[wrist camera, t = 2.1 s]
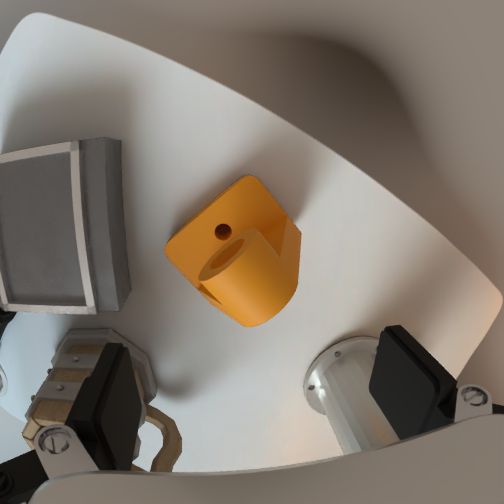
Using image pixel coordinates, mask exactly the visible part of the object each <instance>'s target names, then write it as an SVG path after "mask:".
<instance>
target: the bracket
mask: <svg viewBox="0 0 504 504" xmlns="http://www.w3.org/2000/svg"><path fill="white" fill-rule="evenodd" d="M219 224H227V225H229V226H230V230H229V231H228V232H227V233H225V234H220V233H218V232H216V230H215V228H216V227H217V226H218V225H219ZM300 247H301V232H300V231H299V229H298V228H297V227H296V225H295V224H294V223H293V222H292V220H291V219H290V218H289V216H288V215H287V214H286V213H285V211H284V210H283V209H282V208H281V206H280V205H279V204H278V203H277V201H276V200H275V199H274V198H273V196H272V195H271V194H270V193H269V191H268V190H267V189H266V188H265V186H264V185H263V184H262V183H261V182H260V180H259V179H258V178H256V177H254V176H251V175H245V176H243V177H241V178H240V179H239V180H237V181H236V182H235V183H234V184H233V185H231V186H230V187H229V188H227V189H225V190H224V191H223V192H222V193H221V194H219V195H218V196H217V197H216V198H215V199H213V200H212V201H211V202H210V203H209V204H207V205H206V206H205V207H204V208H203V209H202V210H200V211H199V212H198V213H197V214H196V215H195V216H193V217H192V218H191V219H190V220H189V221H188V222H187V223H185V224H184V225H183V227H182V228H181V229H180V230H179V231H178V232H176V233H175V234H174V235H173V236H172V237H171V238H170V239H169V240H168V242H167V244H166V246H165V254H166V256H167V258H168V259H169V260H170V261H171V262H172V263H173V264H174V265H175V266H176V267H177V268H178V269H179V270H180V272H181V273H182V274H183V275H184V276H185V277H186V278H187V279H188V280H189V281H190V282H191V283H192V284H193V285H194V286H195V287H196V288H197V289H198V290H199V291H200V292H201V293H202V294H203V295H204V297H205V298H206V299H207V300H208V301H209V302H210V303H211V304H212V305H214V306H215V307H217V308H218V309H219V310H221V311H222V312H224V313H225V314H227V315H228V316H230V317H231V318H233V319H234V320H236V321H237V322H238V323H240V324H241V325H243V326H245V327H254V326H257V325H260V324H262V323H264V322H266V321H268V320H269V319H271V318H272V317H274V316H275V315H276V314H277V313H279V312H280V311H281V310H282V309H283V308H284V307H285V306H286V304H287V303H288V302H289V301H290V299H291V298H292V296H293V295H294V293H295V291H296V288H297V285H298V274H299V261H300Z"/></svg>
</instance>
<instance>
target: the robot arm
mask: <svg viewBox="0 0 504 504" xmlns="http://www.w3.org/2000/svg"><path fill="white" fill-rule="evenodd" d="M456 384H457V381H456V380H455V379H454V378H453V376H452V375H451V374H450V373H449V372H448V371H447V370H446V369H445V368H444V367H443V366H442V365H441V364H440V363H439V362H438V361H437V360H436V359H435V358H434V357H433V356H432V355H431V354H430V353H429V352H428V351H427V350H426V349H425V348H424V347H423V346H422V345H421V344H420V343H419V342H418V341H416V340H415V339H414V338H413V337H412V336H411V335H410V334H409V333H408V332H407V331H406V330H405V329H404V328H403V327H402V326H401V325H394V326H387V327H385V329H384V331H382V332H381V334H380V339H377V338H373V337H364V336H361V337H354V338H350V339H347V340H344V341H341V342H339V343H337V344H335V345H333V346H332V347H330V348H329V349H327V350H326V351H325V352H323V353H322V354H321V355H320V356H319V357H318V358H317V359H316V360H315V361H314V362H313V364H312V365H311V367H310V368H309V370H308V372H307V374H306V377H305V380H304V385H303V387H304V395H305V397H306V400H307V402H308V404H309V406H310V407H311V408H312V409H313V410H315V411H317V412H318V413H321V414H323V415H327V417H328V420H329V422H330V424H331V427H332V429H333V431H334V433H335V436H336V438H337V440H338V442H339V445H340V447H341V449H342V451H343V454H344V455H342V456H338V457H333V458H328V459H322V460H317V461H311V462H305V463H299V464H293V465H285V466H278V467H269V468H260V469H250V470H237V471H220V472H144V471H131V466H132V460H133V455H134V449H135V444H136V438H137V433H138V428H139V423H140V418H141V413H142V403H141V399H140V395H139V391H138V387H137V383H136V379H135V375H134V371H133V366H132V362H131V357H130V352H129V349H128V347H124V345H123V344H122V343H106V344H105V347H104V349H103V351H102V353H101V355H100V357H99V359H98V361H97V363H96V366H95V368H94V370H93V372H92V374H91V376H90V377H86V378H85V379H84V381H83V383H82V385H81V387H80V390H79V392H78V394H77V396H76V398H75V401H74V403H73V405H72V407H71V410H70V412H69V414H68V417H67V419H66V421H65V424H64V425H62V424H52V425H48V426H46V427H44V428H42V429H41V430H40V431H39V432H38V433H37V434H36V436H35V438H34V447H35V449H34V450H31V451H29V452H27V453H25V454H22V455H20V456H18V457H15V458H13V459H11V460H8V461H6V462H4V463H1V464H0V504H504V406H501V405H497V404H492V398H491V395H490V393H489V392H488V391H487V390H486V389H485V388H483V387H481V386H479V385H475V384H467V385H463V386H461V388H459V389H457V388H456Z"/></svg>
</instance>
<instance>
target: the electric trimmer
mask: <svg viewBox="0 0 504 504" xmlns="http://www.w3.org/2000/svg"><path fill="white" fill-rule="evenodd" d="M16 313H17V311H4V308H2V307H0V339H1V337H2V334H3V332H4V330H5V328H6V326H7V324H8V323H9V322H10V321H11V320H12V319H13V318H14V316H15V315H16Z"/></svg>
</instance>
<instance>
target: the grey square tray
mask: <svg viewBox="0 0 504 504" xmlns="http://www.w3.org/2000/svg"><path fill="white" fill-rule="evenodd" d="M130 292H131V285H130V277H129V268H128V259H127V250H126V239H125V227H124V213H123V197H122V173H121V140H117V139H111V138H105V137H104V138H95V139H87V140H78V141H71V142H64V143H58V144H51V145H45V146H40V147H34V148H29V149H24V150H19V151H14V152H9V153H4V154H0V307H2V308H4V311H17V312H34V313H56V314H88V315H97V313H98V312H99V311H120V310H121V308H122V306H123V304H124V302H125V301H126V299H127V297H128V295H129V293H130Z"/></svg>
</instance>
